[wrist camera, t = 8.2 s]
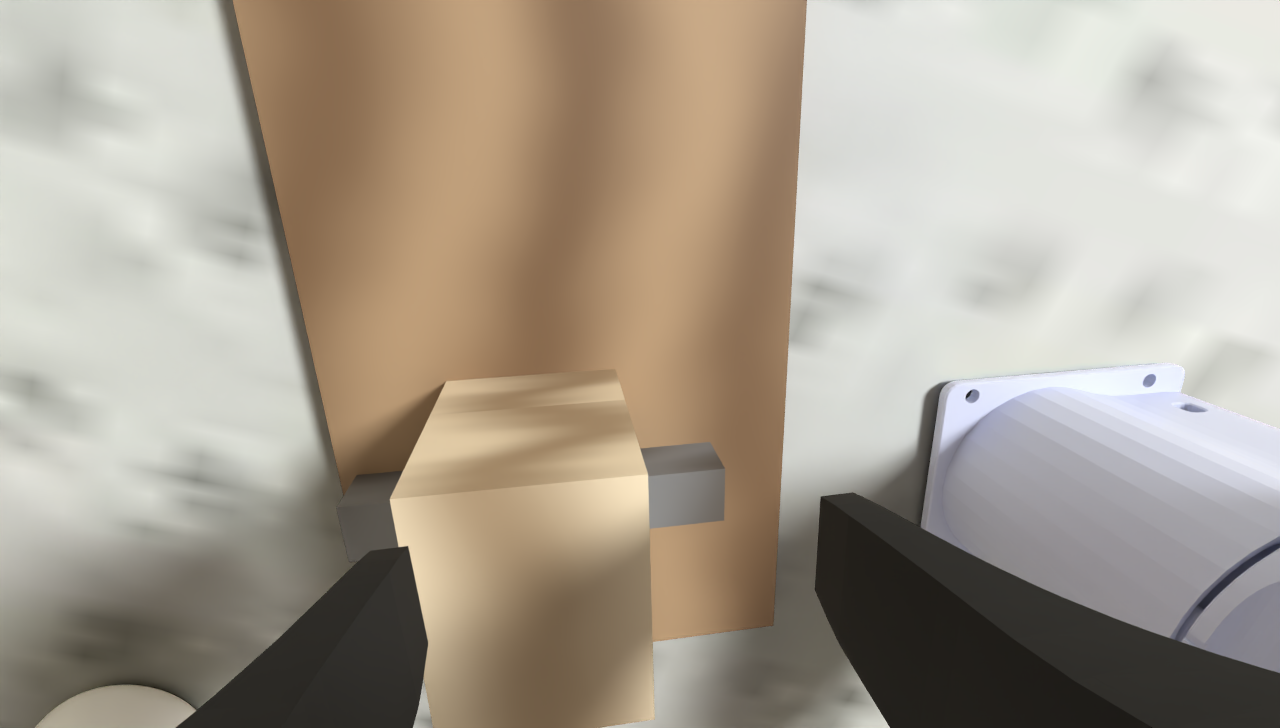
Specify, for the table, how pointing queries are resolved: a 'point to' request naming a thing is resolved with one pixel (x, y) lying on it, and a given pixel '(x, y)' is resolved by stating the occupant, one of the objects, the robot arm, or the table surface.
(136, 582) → the table surface
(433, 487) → the slotted block
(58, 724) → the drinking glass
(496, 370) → the board
